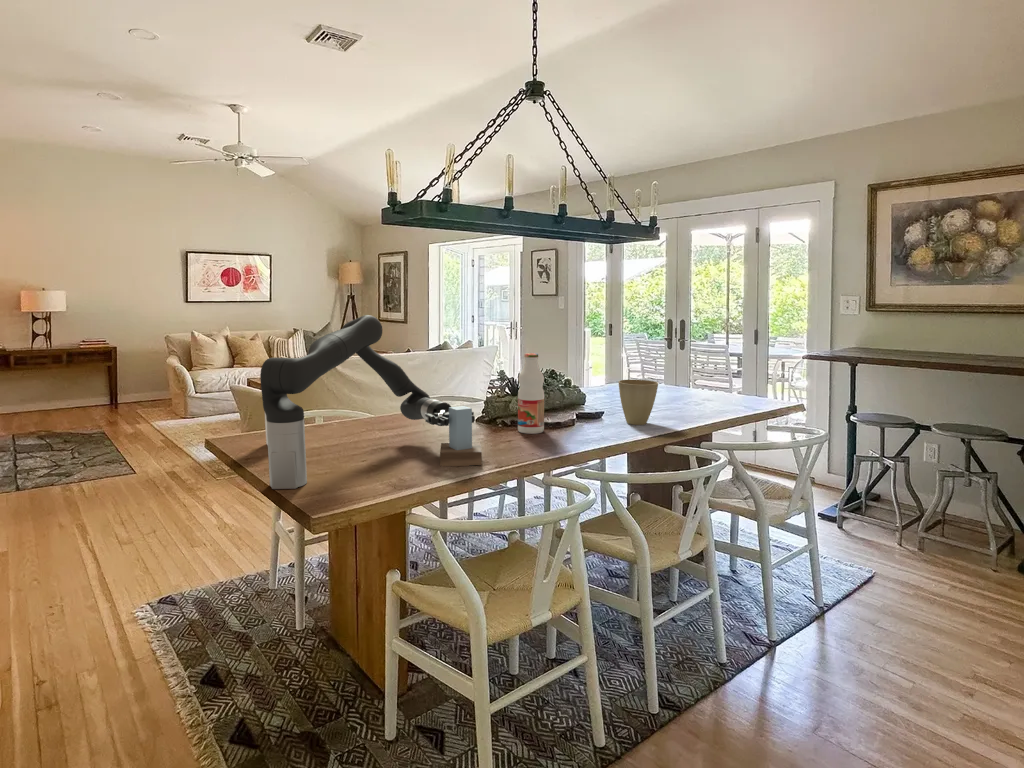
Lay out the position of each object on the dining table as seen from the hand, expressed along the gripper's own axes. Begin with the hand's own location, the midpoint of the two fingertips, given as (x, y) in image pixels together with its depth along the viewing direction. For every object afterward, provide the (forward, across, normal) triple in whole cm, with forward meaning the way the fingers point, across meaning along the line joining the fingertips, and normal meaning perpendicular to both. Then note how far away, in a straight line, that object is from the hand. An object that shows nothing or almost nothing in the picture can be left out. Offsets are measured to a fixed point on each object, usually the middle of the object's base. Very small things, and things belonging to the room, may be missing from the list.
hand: (460, 420), depth 196 cm
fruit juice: (-23, +40, +12) cm, 48 cm away
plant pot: (-14, +83, +12) cm, 85 cm away
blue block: (0, 0, +8) cm, 8 cm away
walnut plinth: (0, 0, +12) cm, 12 cm away
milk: (-49, -42, +12) cm, 66 cm away
